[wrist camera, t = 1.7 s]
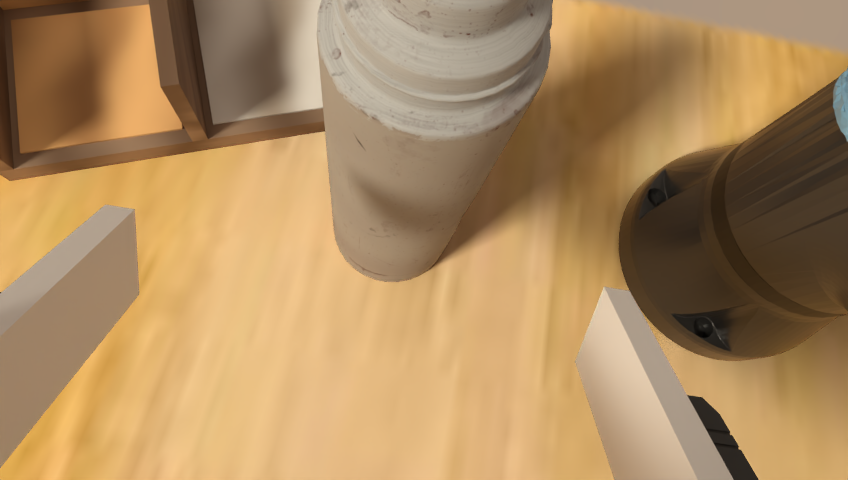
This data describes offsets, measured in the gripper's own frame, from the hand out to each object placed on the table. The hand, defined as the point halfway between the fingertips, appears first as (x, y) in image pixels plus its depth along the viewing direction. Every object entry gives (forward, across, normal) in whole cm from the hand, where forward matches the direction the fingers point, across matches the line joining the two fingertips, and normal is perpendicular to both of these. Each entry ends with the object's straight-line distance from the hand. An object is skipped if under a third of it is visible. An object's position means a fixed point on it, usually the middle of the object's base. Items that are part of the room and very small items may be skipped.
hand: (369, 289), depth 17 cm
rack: (+29, -15, -3) cm, 33 cm away
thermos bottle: (+23, +1, -10) cm, 25 cm away
